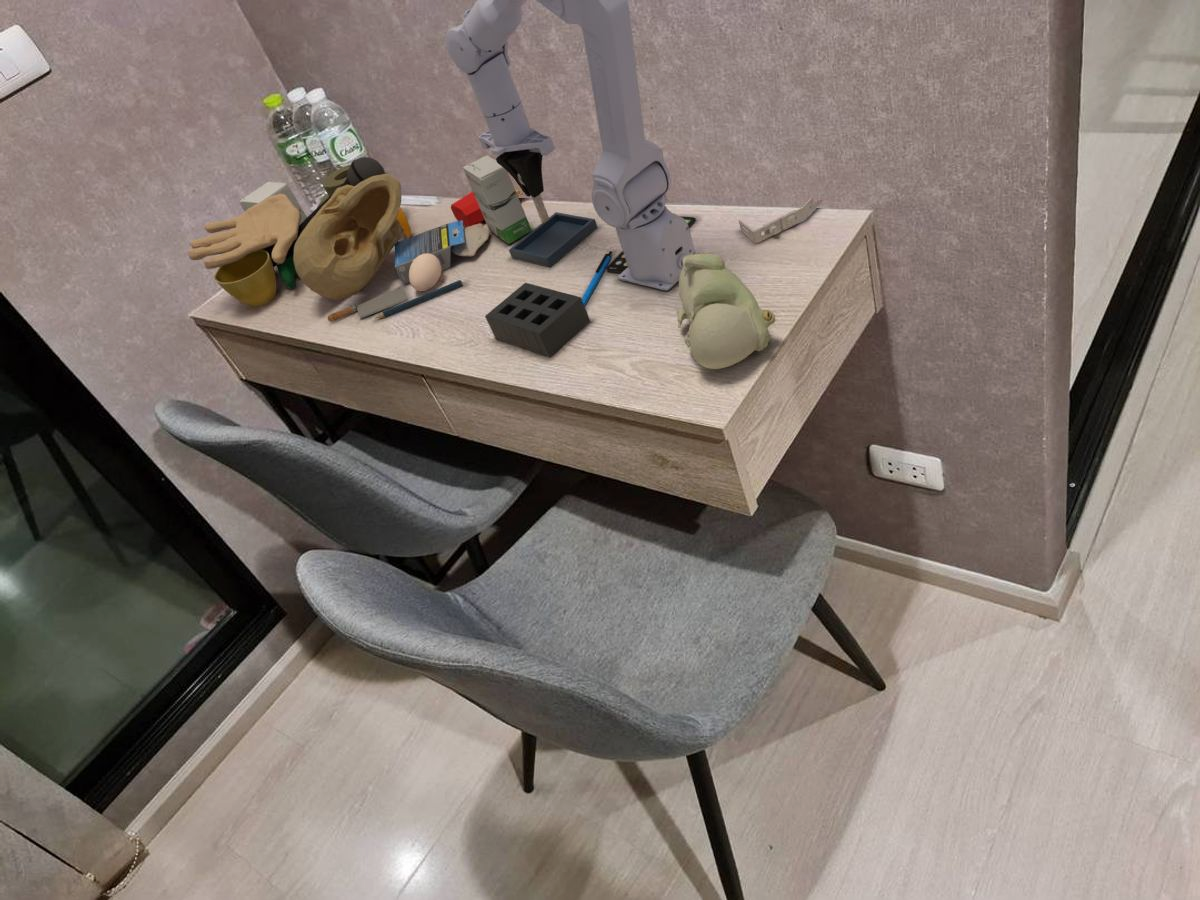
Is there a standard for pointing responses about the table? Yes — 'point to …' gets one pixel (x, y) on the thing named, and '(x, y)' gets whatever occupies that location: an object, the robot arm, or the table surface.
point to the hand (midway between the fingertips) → (535, 193)
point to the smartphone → (620, 261)
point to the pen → (596, 277)
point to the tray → (553, 239)
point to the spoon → (538, 204)
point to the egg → (424, 272)
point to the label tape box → (427, 247)
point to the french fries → (469, 210)
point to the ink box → (497, 199)
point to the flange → (335, 181)
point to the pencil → (420, 299)
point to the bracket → (780, 222)
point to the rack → (538, 319)
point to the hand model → (250, 233)
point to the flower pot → (249, 279)
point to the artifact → (471, 240)
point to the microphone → (351, 180)
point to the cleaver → (373, 305)
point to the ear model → (349, 237)
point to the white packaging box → (271, 190)
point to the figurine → (720, 313)
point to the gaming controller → (288, 272)
